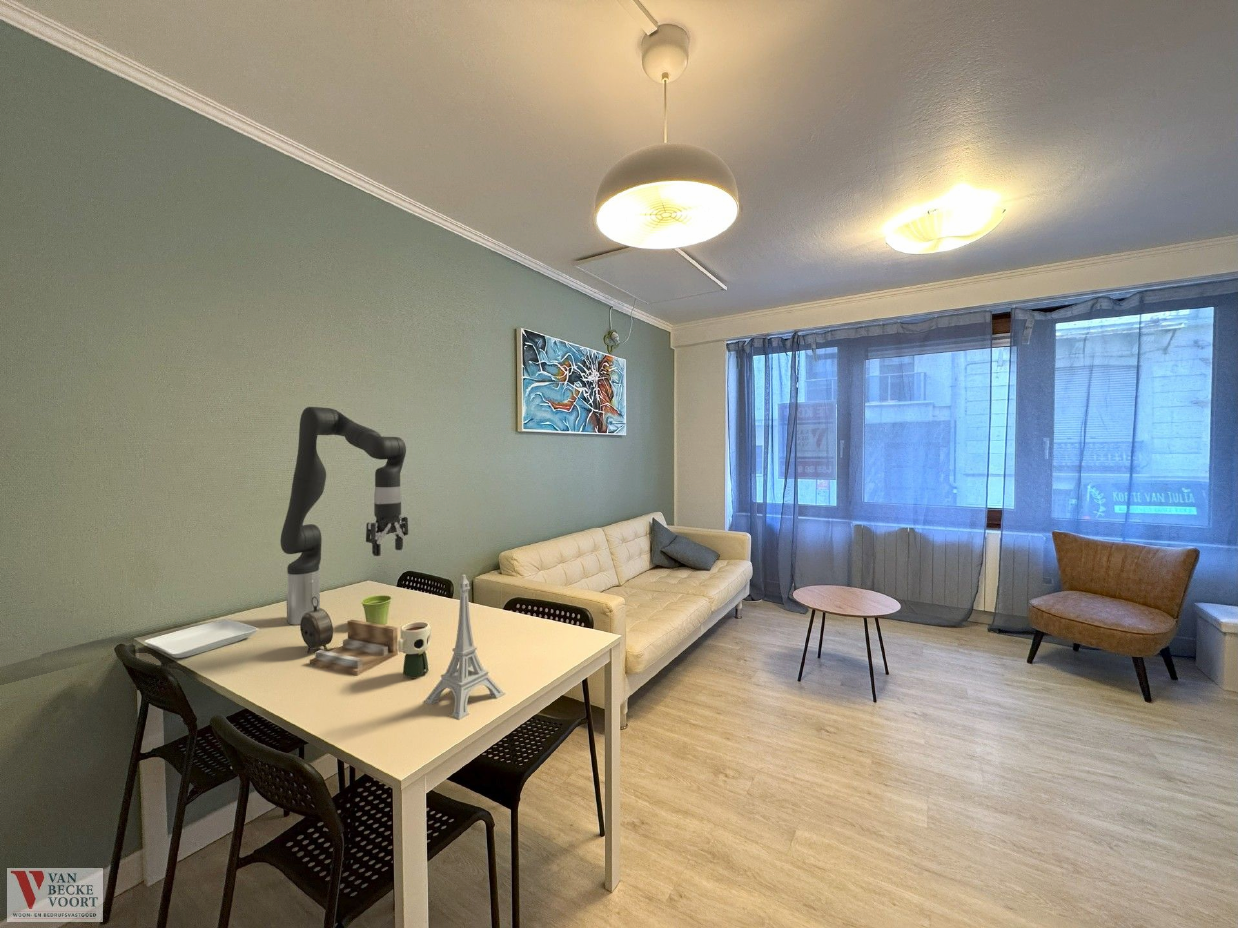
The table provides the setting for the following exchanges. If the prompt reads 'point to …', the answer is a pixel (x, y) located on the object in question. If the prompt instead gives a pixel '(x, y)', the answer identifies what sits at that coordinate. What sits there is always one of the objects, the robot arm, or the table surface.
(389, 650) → the track board
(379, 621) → the plant pot
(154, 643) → the salad plate
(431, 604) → the table surface
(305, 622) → the alarm clock
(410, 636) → the character mug
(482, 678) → the eiffel tower
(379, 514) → the robot arm
